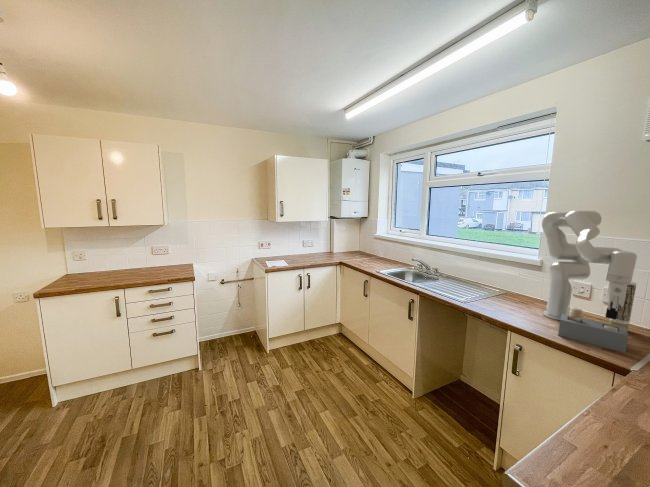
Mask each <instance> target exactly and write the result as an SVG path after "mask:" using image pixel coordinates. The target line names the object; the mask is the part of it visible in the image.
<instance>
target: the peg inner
mask: <svg viewBox="0 0 650 487" xmlns="http://www.w3.org/2000/svg"><path fill="white" fill-rule="evenodd" d="M568 315H569V320H572V321H577V322H581V318H583V310H582V309H580V308H577V307H569V313H568Z"/></svg>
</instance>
